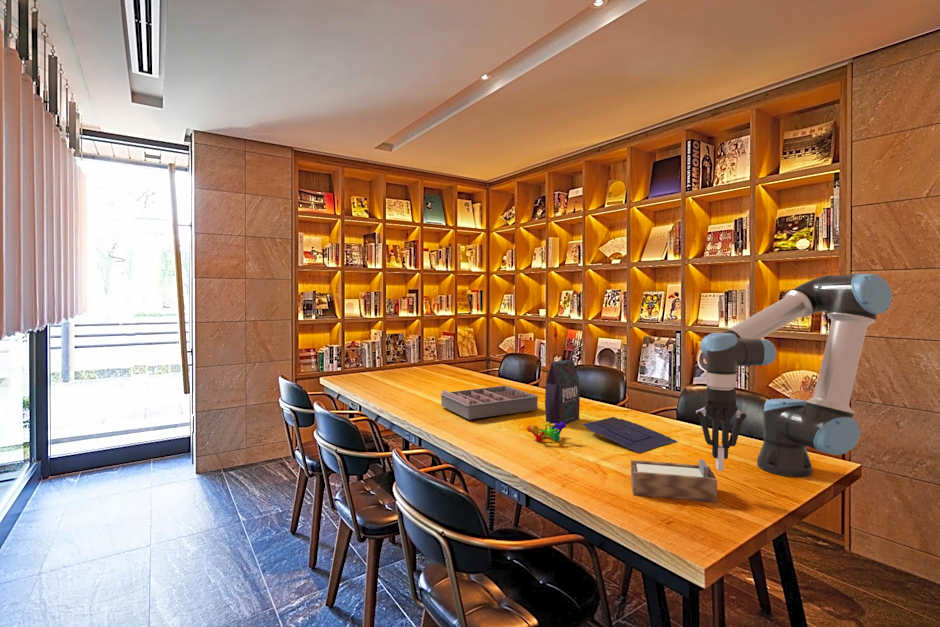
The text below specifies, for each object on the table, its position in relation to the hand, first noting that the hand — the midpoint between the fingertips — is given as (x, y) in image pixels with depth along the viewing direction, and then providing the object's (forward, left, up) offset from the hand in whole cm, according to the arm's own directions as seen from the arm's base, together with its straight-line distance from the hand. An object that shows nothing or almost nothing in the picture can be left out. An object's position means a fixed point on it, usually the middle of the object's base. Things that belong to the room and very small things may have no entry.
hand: (719, 469), depth 137 cm
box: (+13, 0, -8) cm, 15 cm away
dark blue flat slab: (+23, -51, -8) cm, 56 cm away
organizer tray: (+88, -84, -8) cm, 122 cm away
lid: (+13, 0, -3) cm, 13 cm away
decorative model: (+54, -41, -8) cm, 68 cm away
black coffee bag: (+50, -70, -8) cm, 86 cm away
